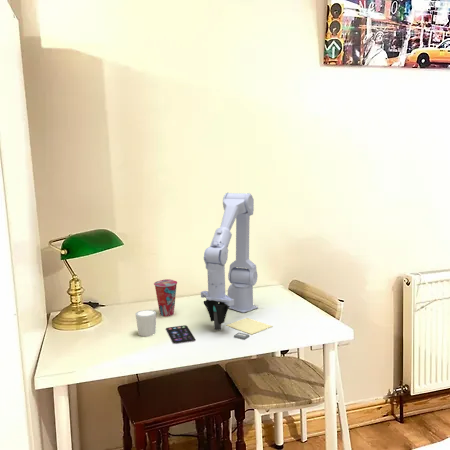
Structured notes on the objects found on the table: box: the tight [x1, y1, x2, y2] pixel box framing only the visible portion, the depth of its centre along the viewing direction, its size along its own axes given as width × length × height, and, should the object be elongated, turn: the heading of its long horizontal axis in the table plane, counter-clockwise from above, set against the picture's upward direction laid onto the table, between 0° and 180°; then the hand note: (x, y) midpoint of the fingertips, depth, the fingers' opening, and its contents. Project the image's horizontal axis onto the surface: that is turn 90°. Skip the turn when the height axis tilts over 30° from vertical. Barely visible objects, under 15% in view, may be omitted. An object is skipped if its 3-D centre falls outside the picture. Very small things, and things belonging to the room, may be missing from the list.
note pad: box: [226, 317, 273, 336], centre depth 172 cm, size 12×10×1 cm
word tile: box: [233, 332, 250, 340], centre depth 162 cm, size 4×3×1 cm
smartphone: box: [165, 324, 197, 345], centre depth 166 cm, size 8×1×15 cm
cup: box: [153, 278, 178, 318], centre depth 185 cm, size 9×8×12 cm
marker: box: [213, 306, 222, 331], centre depth 169 cm, size 3×3×8 cm
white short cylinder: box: [135, 309, 157, 337], centre depth 167 cm, size 7×7×7 cm
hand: (217, 321), depth 170 cm, fingers open, 3 cm apart
